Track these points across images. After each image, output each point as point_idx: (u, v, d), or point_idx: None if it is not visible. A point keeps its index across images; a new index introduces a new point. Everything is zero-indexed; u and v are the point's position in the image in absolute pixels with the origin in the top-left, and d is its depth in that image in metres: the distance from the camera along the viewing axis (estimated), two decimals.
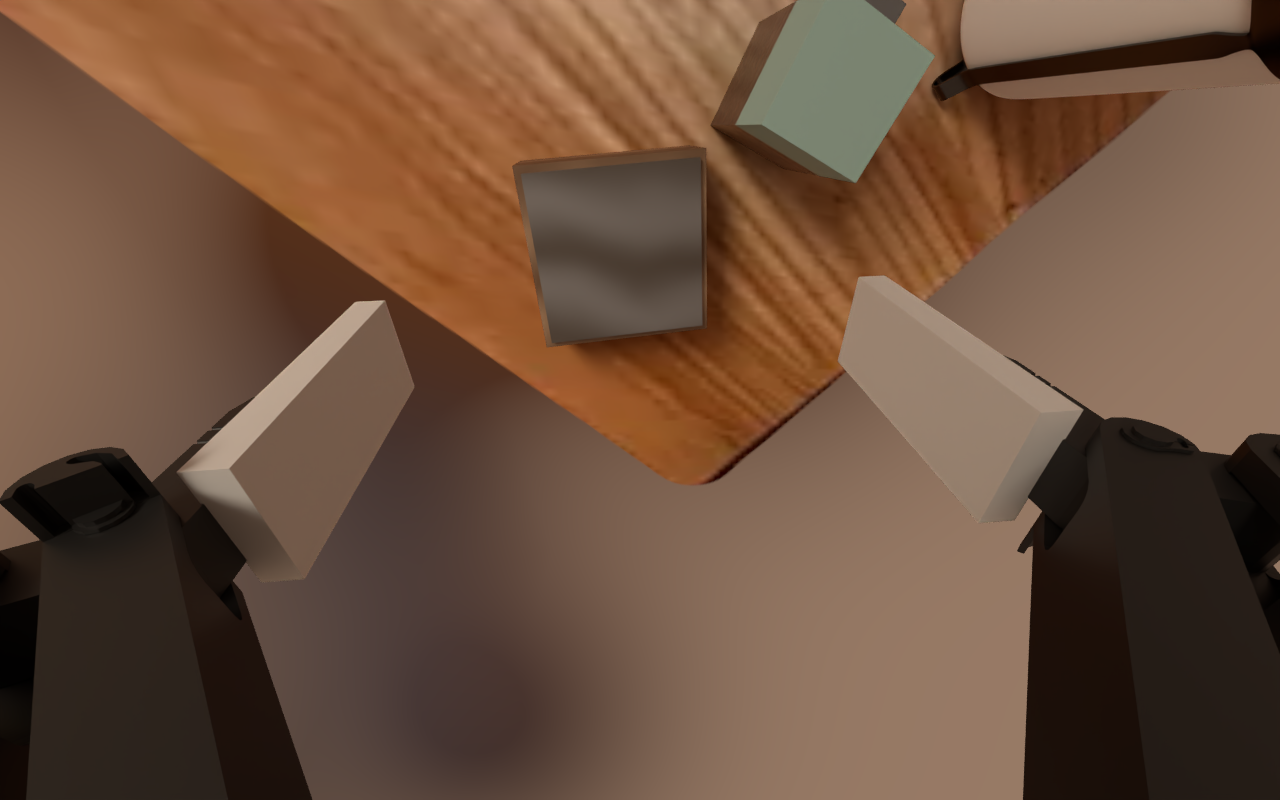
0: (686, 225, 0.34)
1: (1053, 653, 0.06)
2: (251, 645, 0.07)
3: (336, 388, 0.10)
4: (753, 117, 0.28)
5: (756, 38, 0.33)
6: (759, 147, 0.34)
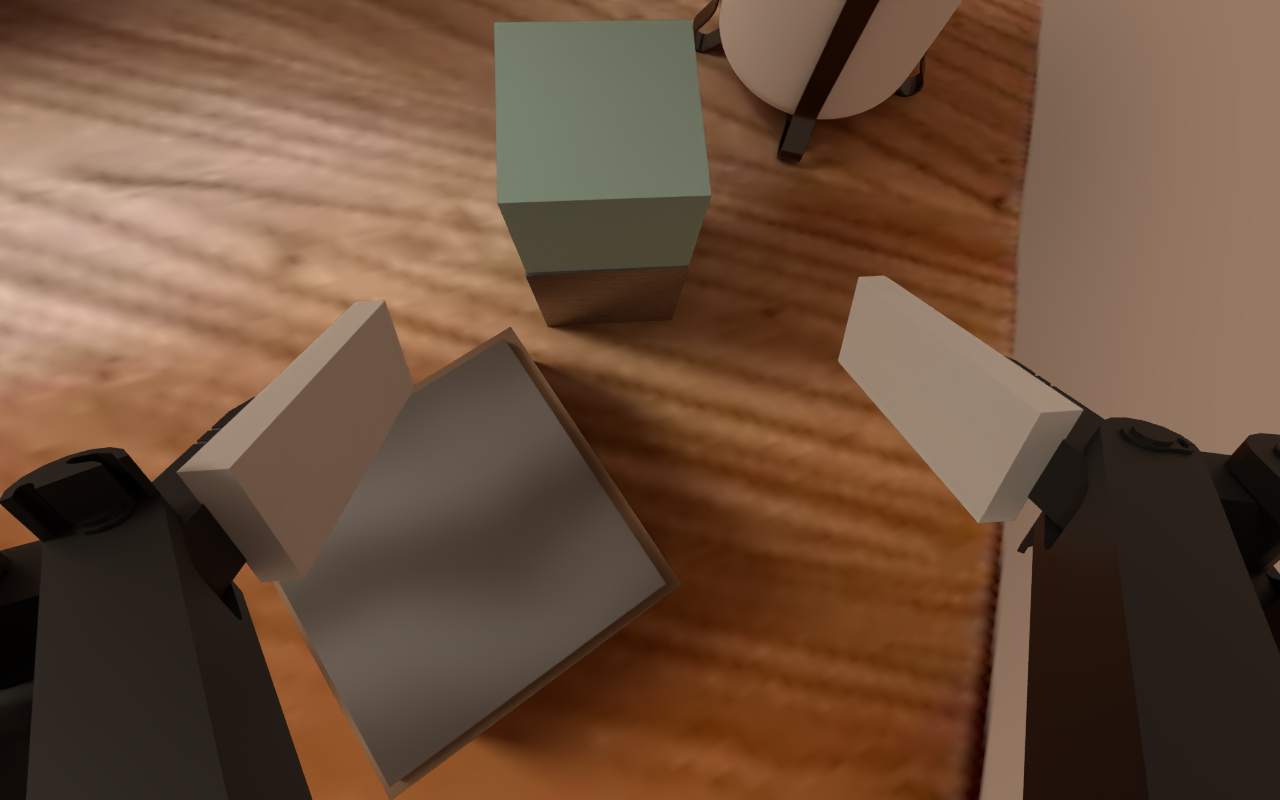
0: (536, 435, 0.19)
1: (1053, 653, 0.06)
2: (251, 645, 0.07)
3: (336, 389, 0.10)
4: None
5: None
6: (603, 301, 0.24)
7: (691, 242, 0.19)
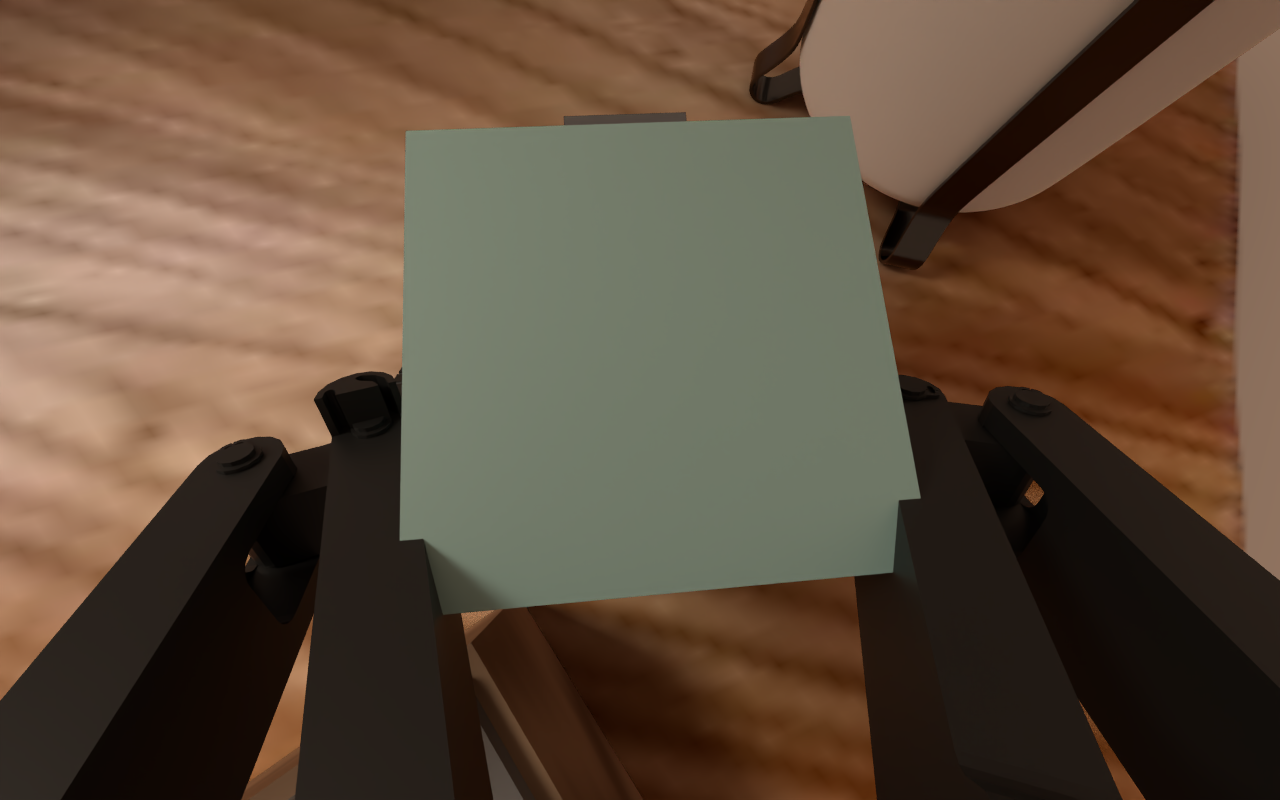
0: None
1: (872, 601, 0.07)
2: None
3: None
4: None
5: None
6: None
7: None
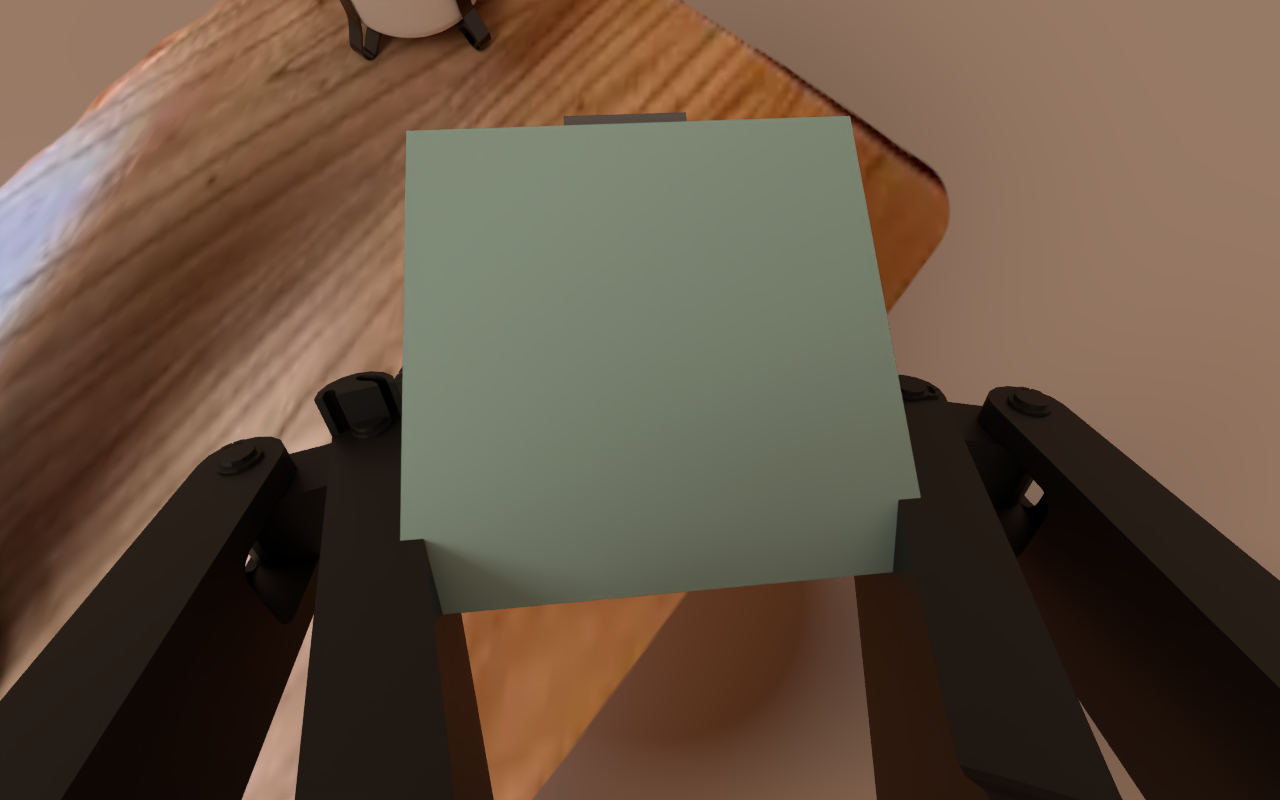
0: None
1: (872, 601, 0.07)
2: None
3: None
4: None
5: None
6: None
7: None
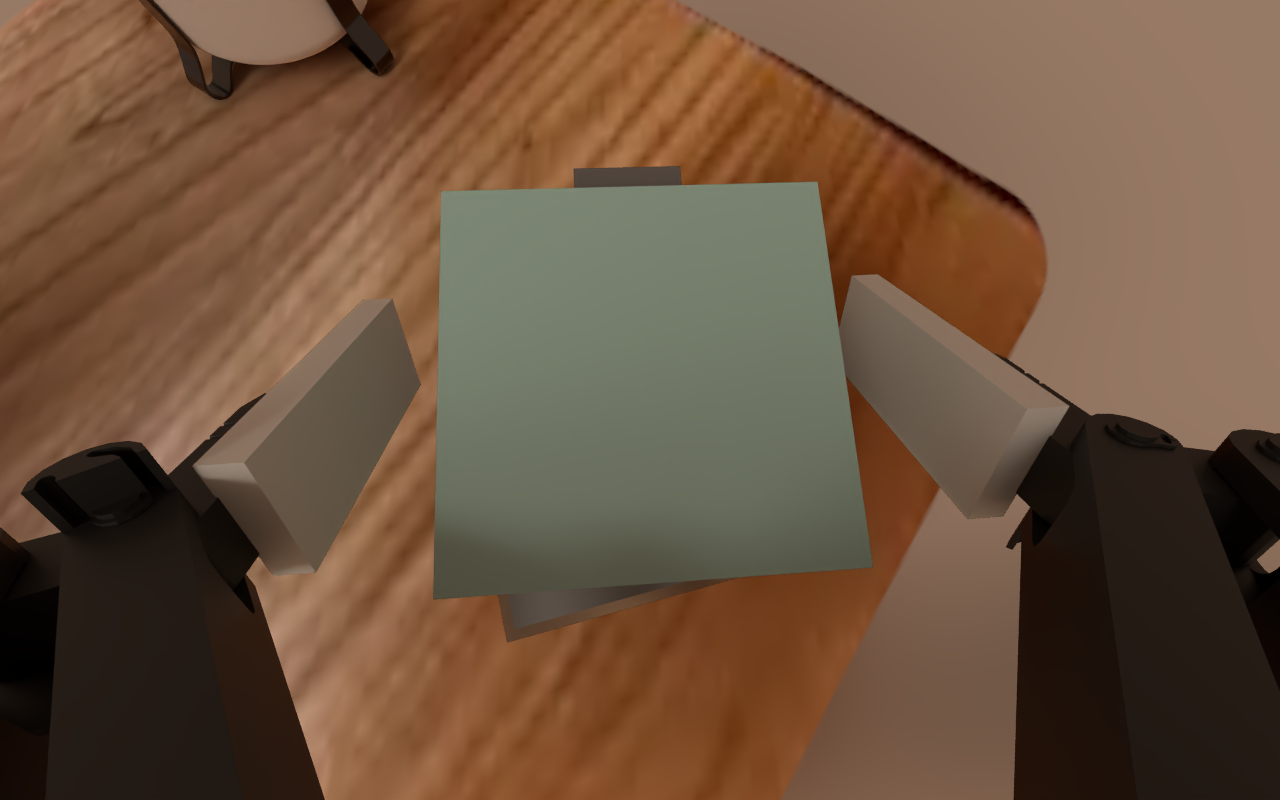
0: None
1: (1042, 649, 0.06)
2: (263, 638, 0.07)
3: (345, 385, 0.10)
4: None
5: None
6: None
7: None
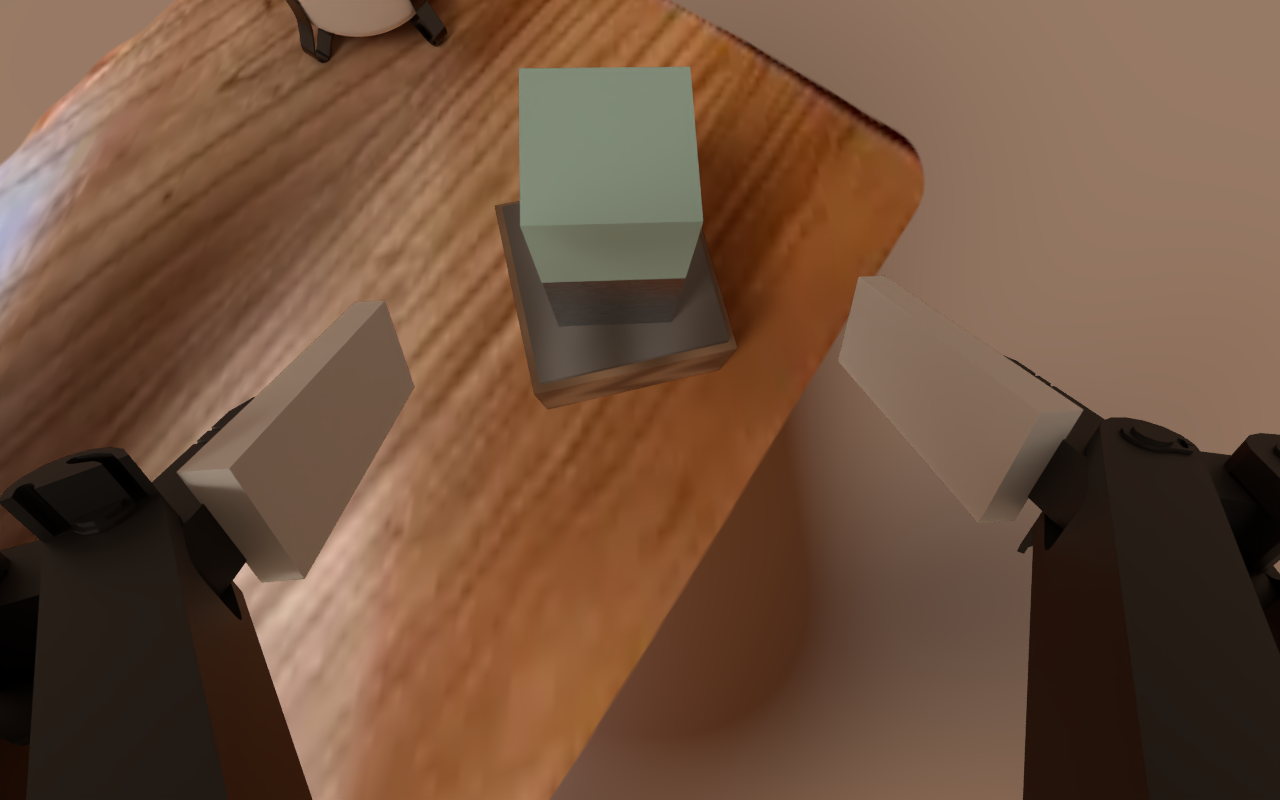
0: None
1: (1054, 653, 0.06)
2: (251, 645, 0.07)
3: (336, 388, 0.10)
4: None
5: None
6: (610, 304, 0.26)
7: (687, 259, 0.21)
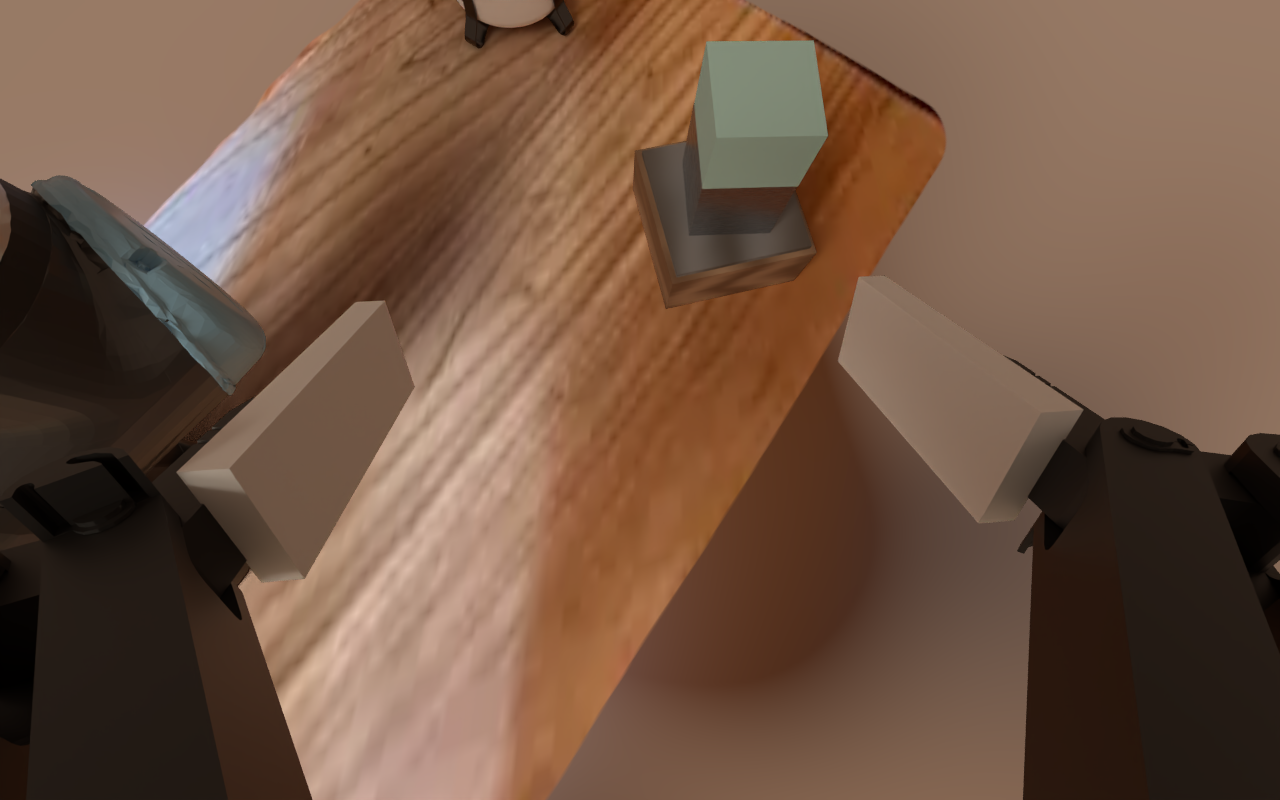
0: None
1: (1053, 653, 0.06)
2: (251, 645, 0.07)
3: (336, 388, 0.10)
4: (709, 155, 0.31)
5: (685, 164, 0.40)
6: (735, 212, 0.37)
7: (805, 168, 0.32)
